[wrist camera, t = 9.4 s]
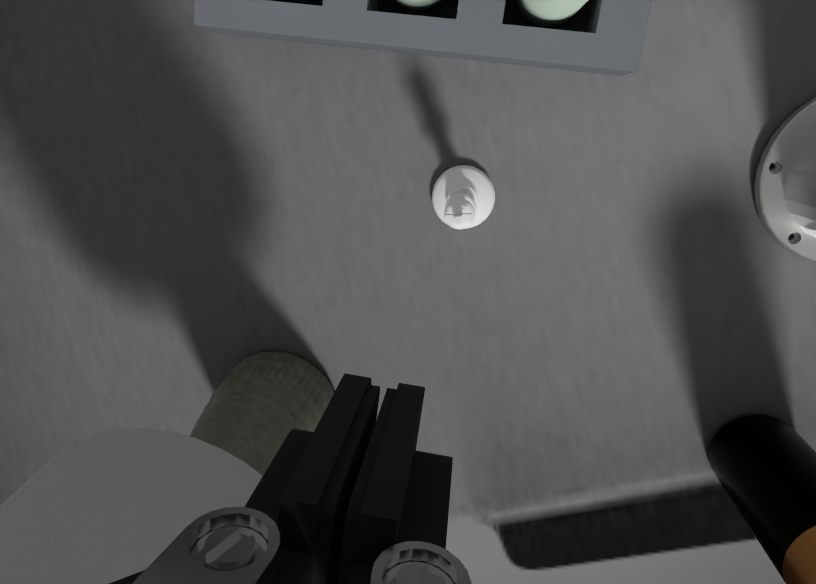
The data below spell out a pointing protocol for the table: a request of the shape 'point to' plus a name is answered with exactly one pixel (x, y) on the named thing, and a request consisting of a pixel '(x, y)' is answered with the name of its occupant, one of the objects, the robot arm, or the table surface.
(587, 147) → the table surface
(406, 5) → the button middle
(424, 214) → the table surface
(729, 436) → the battery
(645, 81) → the table surface
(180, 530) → the lamp
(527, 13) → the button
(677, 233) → the table surface
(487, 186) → the chess piece
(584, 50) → the board
